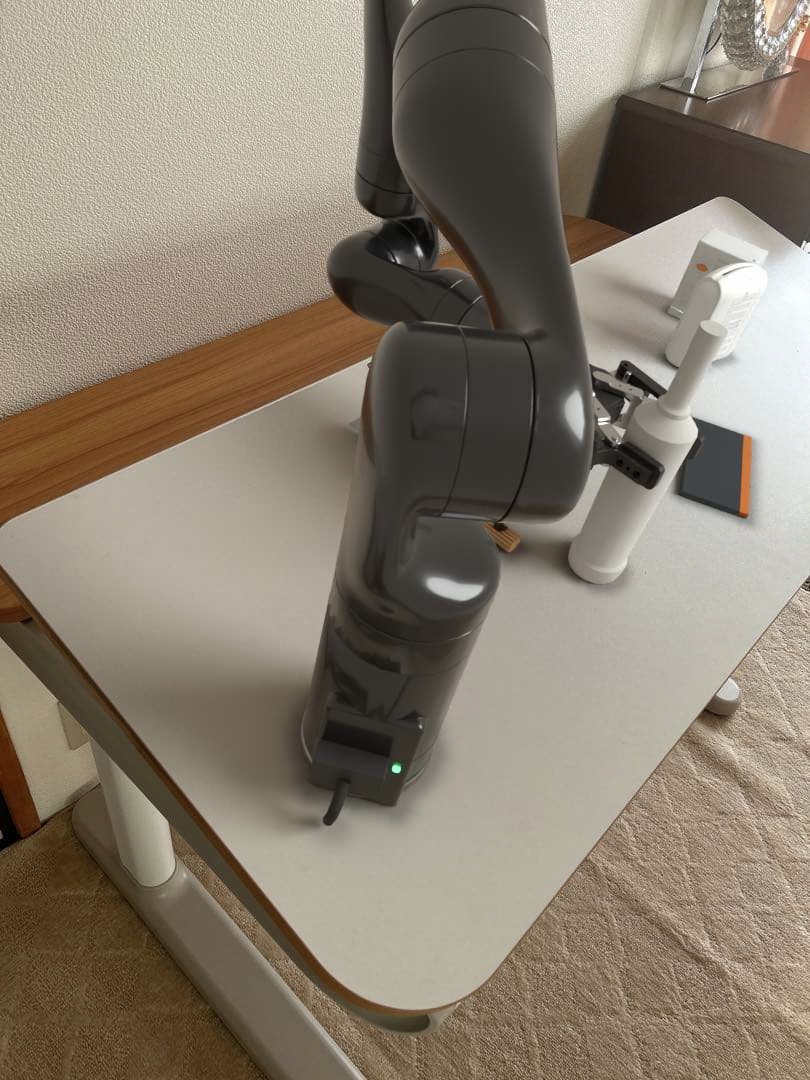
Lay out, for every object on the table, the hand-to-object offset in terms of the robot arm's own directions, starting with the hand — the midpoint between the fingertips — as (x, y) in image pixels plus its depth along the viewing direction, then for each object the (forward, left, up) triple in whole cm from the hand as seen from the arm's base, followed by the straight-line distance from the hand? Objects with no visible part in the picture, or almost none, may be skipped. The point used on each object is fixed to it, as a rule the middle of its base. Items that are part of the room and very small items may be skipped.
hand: (679, 463), depth 69 cm
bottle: (+1, +2, -14) cm, 14 cm away
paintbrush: (+5, +18, -14) cm, 24 cm away
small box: (+53, -11, -14) cm, 56 cm away
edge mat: (+21, -11, -14) cm, 28 cm away
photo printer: (+43, -10, -14) cm, 47 cm away
